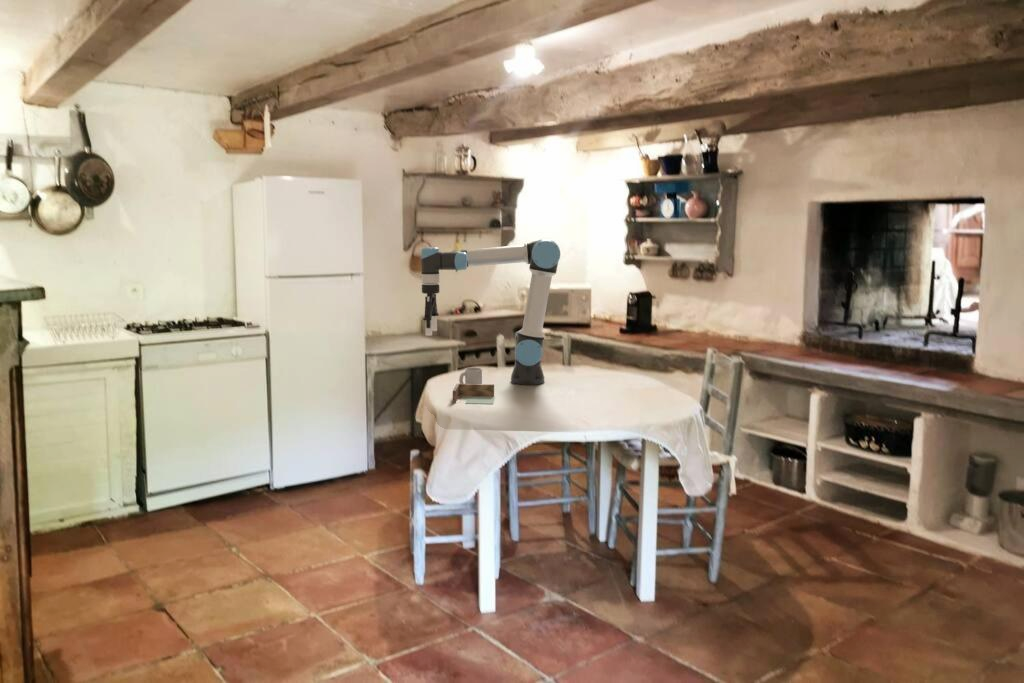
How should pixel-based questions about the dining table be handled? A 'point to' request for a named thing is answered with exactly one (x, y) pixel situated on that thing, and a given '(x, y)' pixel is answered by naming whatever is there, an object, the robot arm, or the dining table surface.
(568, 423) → the dining table surface
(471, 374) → the cup
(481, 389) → the corner walls
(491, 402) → the mat
